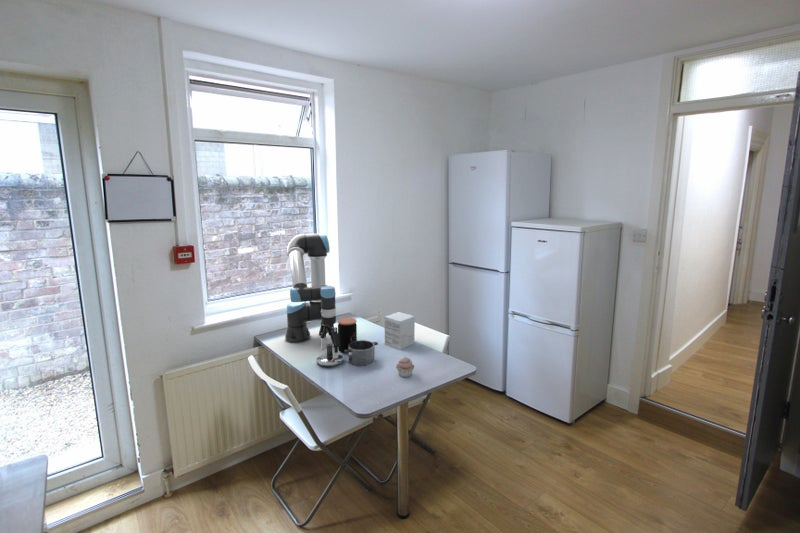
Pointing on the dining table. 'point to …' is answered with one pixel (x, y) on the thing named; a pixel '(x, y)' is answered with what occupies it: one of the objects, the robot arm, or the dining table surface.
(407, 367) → the cupcake
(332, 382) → the dining table surface
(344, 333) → the coffee jar
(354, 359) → the pot
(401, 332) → the supplement box
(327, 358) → the lid
